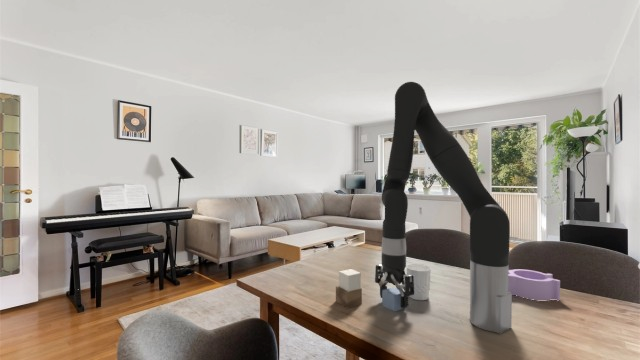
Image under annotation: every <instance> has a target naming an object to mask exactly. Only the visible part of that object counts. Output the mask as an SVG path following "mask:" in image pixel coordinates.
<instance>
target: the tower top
mask: <svg viewBox="0 0 640 360" xmlns="http://www.w3.org/2000/svg"><path fill="white" fill-rule="evenodd" d="M361 275H362V274H361V272H359V271H357V270H356V269H351V268H349V269H344V270H340V271H338V286H339V287H341V288H342V289H344V290H346V291H348V292H349V291H353V290H357V289H362V287H361V283H362V282H361V280H362V277H361Z"/></svg>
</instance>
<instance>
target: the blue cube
mask: <svg viewBox="0 0 640 360" xmlns="http://www.w3.org/2000/svg"><path fill="white" fill-rule="evenodd" d="M381 306H383V307H384V308H386V309H388V310H390V311H391V312H397V311H400V310H402V309H404V308H401V294H400V291H399V290H398V289H397V288H396V286H395V287H394V286H392V287H387V289H385V290H382V298H381Z"/></svg>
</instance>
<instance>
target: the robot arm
mask: <svg viewBox="0 0 640 360" xmlns="http://www.w3.org/2000/svg"><path fill="white" fill-rule="evenodd" d="M393 125H394V126H393V133H392V135H393V136H392V142H391V148H390V152H389V158H388V165H387V173H386V178H385V180H384V181H385V182H384V185H383V189H382V192H381V202H382V204H383V206H384V219H383V221H382V238H381V264H376V265H375V275H374V276H375V277H374V282H375V283H376V284H378V286H379V295H380V298H381V299H382V290H385V289H388V286H387V285H388V284H392V285H393V286H395V288H397V289H398V290H399V291H400V294H401V308H403V309H406V308H408V306H409V296H411V295H414V276H413V275H407V273H406V272H405V269H406V266H407V241H406V230H407V229H406V220H407V216H408V215H407V214H408V207H409V204H408V203H409V201H408V196H407V193H405V189H406V185H407V181H408V180H409V179H410V176H411V170H412V165H413V157H414V145H415V133H417V135H418V137H419V140H420V142H421V144H422V146H423V149H424V151H425V152H426V154H427V156H428V159H429V160H430V162H431V164H432V165H433V166H434V168H435V170H436V171H437V172H438V174H439V176H441V178H442V179H443V180H444V181H445V183H446V184H448V186H449V187H450V188H451V190H453V192H455V193H456V195H457V196H458V197H459V199H460V200H461V202H462V204H463V206H464V207H465V210H466V212H467V213H468V215H469V218H470V219H469V253H470V255H469V256H470V260H469V261H470V262H469V263H470V265H469V266H470V267H469V270H470V271H469V272H470V273H469V276H470V277H469V321H470V323H471V324H472V325H474V326H475V327H477V328H479V329H481V330H485V331H487V332H495V333H497V334H502V333H504V332H506V331H508V330H510V329H511V328H512V324H513V323H512V321H513V320H512V316H513V315H512V313H513V312H512V311H513V309H512V307H513V305H512V304H513V301H512V300H513V298H512V297H513V296H512V293H511V292H508V270H509V268H510V267H509V263H510V262H509V261H510V260H509V259H510V238H511V237H510V233H511V232H510V230H511V229H510V227H511V226H510V224H511V223H510V217H509V216H508V213H507V211H505V209H504V208H503V207H502V206H501V205H500V204H499V203H498V202H497V200H496V199H495V198H494V197H493V196H492V194H490V192H489V191H488V189H487V188H486V187H485V186H484V184H483V182H482V180H481V179H480V177H479V174H478V172H477V170H476V169H475V167H474V164H473V163H472V161H471V159H470V158H469V157H468V155H467V152H466V151H465V149H464V148H463V147H462V145H461V144H460V143H459V141H458V140H457V138H456V137H455V136H454V135H453V133H451V131H449V130H448V129H447V128H446V127H445V126H444V124H443V123H442V122H440V120H439V119H438V117H437V116H436V114H435V112H434V110H433V108H432V106H431V105H430V102H429V100H428V97H427V93H426V91H425V89H424V88H423V86H422V85H421V84H420V83H418V82H416V81H407V82H404V83H403V84H401V85H400V86H399V87H398V88H397V90H396V91H395V94H394V123H393ZM509 328H510V329H509Z"/></svg>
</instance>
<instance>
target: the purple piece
mask: <svg viewBox="0 0 640 360" xmlns="http://www.w3.org/2000/svg"><path fill="white" fill-rule="evenodd" d="M508 292H511V293H512V295H517V296H520V297H524V298H528V299H534V300H550V299H557V300H560V301H561V280H560V279H556V278H554V277H553V274H552V273H544V272H541V271H537V270H531V269H519V268H517V269H508ZM517 296H516V297H517ZM520 297H519V298H520Z"/></svg>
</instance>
